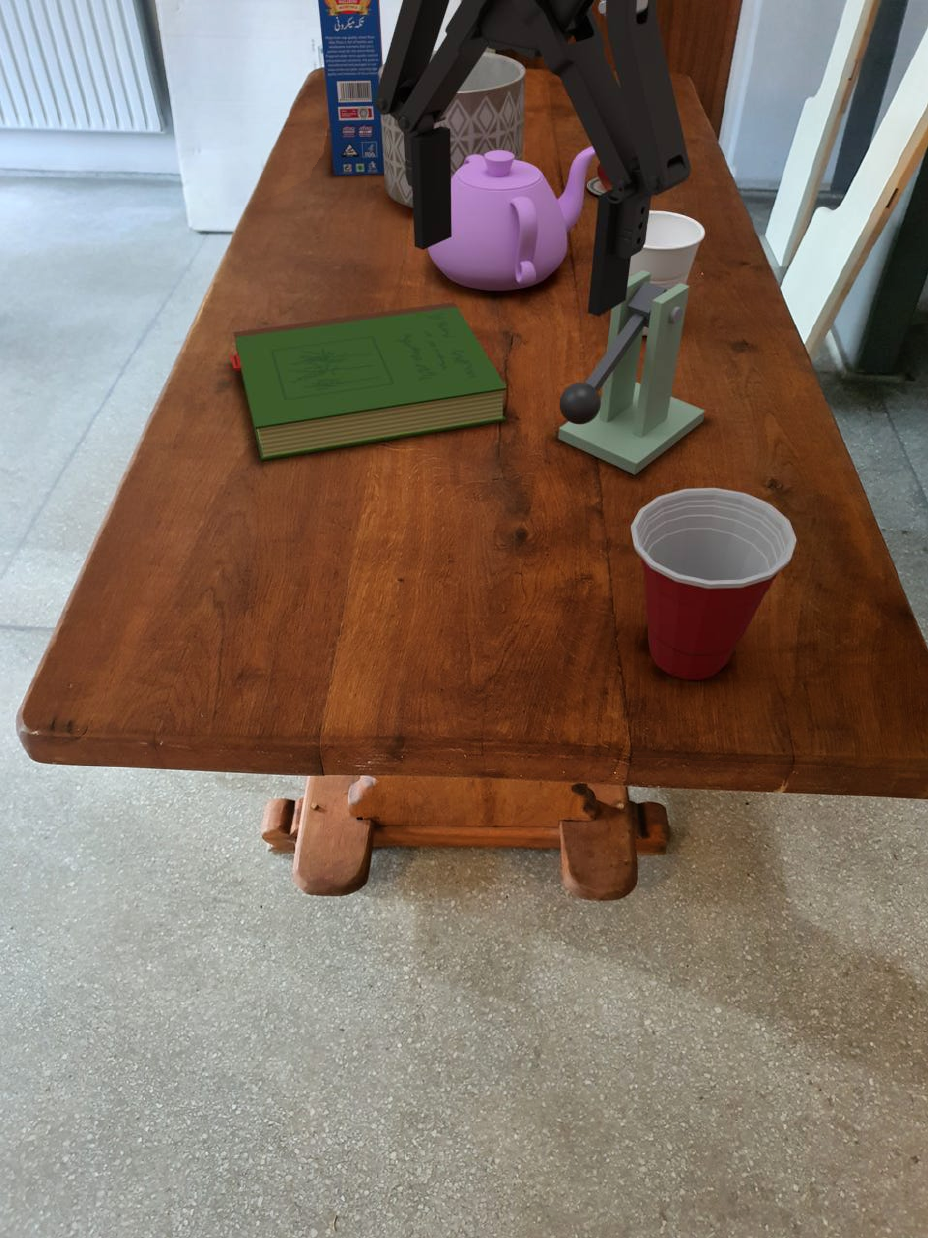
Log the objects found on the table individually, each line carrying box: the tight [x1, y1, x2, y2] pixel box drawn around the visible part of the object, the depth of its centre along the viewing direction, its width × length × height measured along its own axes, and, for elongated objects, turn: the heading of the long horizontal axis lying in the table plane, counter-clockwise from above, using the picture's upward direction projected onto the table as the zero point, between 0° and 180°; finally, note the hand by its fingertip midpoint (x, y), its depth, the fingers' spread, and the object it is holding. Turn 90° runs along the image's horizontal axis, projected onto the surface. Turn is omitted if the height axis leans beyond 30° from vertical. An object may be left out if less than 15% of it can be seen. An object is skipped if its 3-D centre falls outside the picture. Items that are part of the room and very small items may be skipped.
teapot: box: [427, 146, 597, 292], centre depth 114 cm, size 22×22×14 cm
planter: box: [378, 50, 526, 209], centre depth 130 cm, size 19×19×16 cm
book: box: [230, 301, 507, 462], centre depth 97 cm, size 25×19×4 cm
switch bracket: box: [557, 270, 706, 476], centre depth 88 cm, size 12×9×15 cm
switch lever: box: [559, 281, 667, 425], centre depth 83 cm, size 14×4×4 cm, turn 139°
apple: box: [586, 160, 612, 196], centre depth 135 cm, size 8×8×6 cm
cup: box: [629, 210, 706, 337], centre depth 105 cm, size 10×10×11 cm
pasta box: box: [317, 0, 384, 176], centre depth 142 cm, size 28×8×28 cm, turn 4°
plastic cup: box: [630, 487, 798, 681], centre depth 67 cm, size 11×11×12 cm
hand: (515, 272), depth 58 cm, fingers open, 13 cm apart
